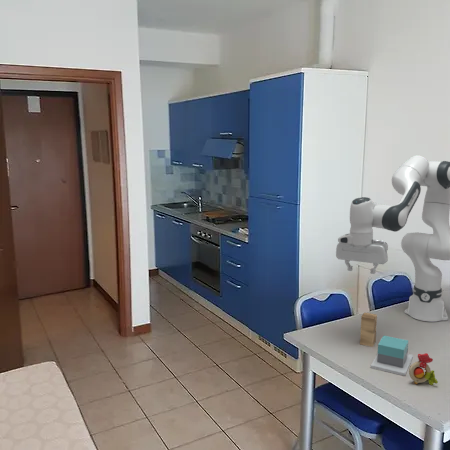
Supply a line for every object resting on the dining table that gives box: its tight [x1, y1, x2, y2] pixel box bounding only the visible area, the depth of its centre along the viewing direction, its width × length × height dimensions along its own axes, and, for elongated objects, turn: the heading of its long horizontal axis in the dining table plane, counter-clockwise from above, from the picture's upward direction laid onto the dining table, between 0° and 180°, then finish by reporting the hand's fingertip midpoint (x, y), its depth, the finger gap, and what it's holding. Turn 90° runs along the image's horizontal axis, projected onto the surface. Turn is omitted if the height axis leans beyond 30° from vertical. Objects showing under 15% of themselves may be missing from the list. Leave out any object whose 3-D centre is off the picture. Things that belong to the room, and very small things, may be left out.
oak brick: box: [359, 312, 378, 348], centre depth 189 cm, size 5×5×12 cm
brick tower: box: [370, 335, 414, 377], centre depth 173 cm, size 16×12×8 cm
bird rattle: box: [408, 353, 439, 386], centre depth 158 cm, size 6×11×9 cm
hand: (361, 271), depth 188 cm, fingers open, 8 cm apart
